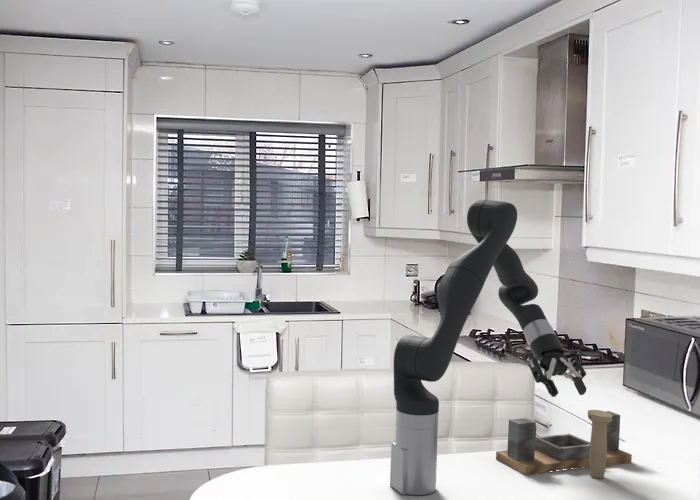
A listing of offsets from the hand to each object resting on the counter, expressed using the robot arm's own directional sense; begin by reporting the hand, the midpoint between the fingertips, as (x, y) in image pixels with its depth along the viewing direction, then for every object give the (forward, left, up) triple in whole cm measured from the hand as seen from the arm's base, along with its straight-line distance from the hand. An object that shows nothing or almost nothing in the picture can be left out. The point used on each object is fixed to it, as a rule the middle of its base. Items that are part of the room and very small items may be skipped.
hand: (569, 394), depth 183 cm
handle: (0, -11, -17) cm, 20 cm away
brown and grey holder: (0, +1, -17) cm, 17 cm away
